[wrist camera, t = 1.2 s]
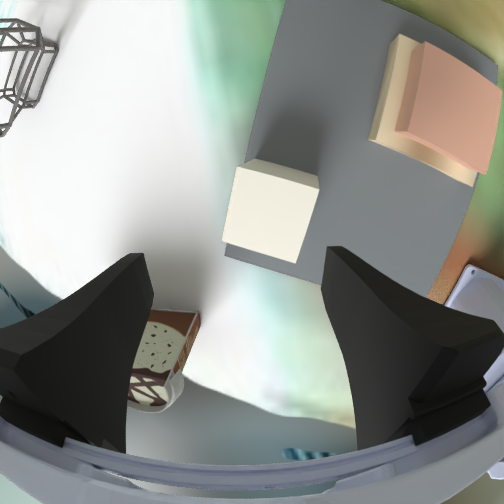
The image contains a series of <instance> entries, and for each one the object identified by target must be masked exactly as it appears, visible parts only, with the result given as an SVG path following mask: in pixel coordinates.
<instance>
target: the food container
mask: <svg viewBox="0 0 504 504" xmlns="http://www.w3.org/2000/svg"><path fill="white" fill-rule="evenodd" d="M199 328H200V314H199V311H186V310H172V309H159V308H151V311H150V315H149V318H148V321H147V324H146V327H145V330H144V333H143V336H142V339H141V342H140V345H139V348H138V351H137V354H136V357H135V360H134V364H133V368H132V374H131V380H130V386H129V393H128V402H127V407H129V408H132V409H134V410H137V411H141V412H146V413H158V412H161V411H163V410H165V408H168V407H169V406H171V405H172V403H174V401H175V400H176V399H177V398H178V397H179V396H180V394H181V393H182V391H183V387H184V379H183V375H182V371H183V368H184V366H185V363H186V361H187V358H188V356H189V353H190V351H191V348H192V346H193V343H194V341H195V338H196V336H197V333H198V331H199Z"/></svg>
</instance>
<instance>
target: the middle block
mask: <svg viewBox="0 0 504 504" xmlns="http://www.w3.org/2000/svg"><path fill="white" fill-rule="evenodd" d="M501 99H502V90H501V89H499V88H498V87H497V86H496V85H494V84H493V83H492V82H490V81H489V80H488V79H486V78H485V77H484V76H482V75H481V74H479V73H478V72H477V71H475V70H474V69H472V68H471V67H469V66H468V65H466V64H465V63H463V62H461V61H460V60H458V59H457V58H455V57H453V56H452V55H450V54H448V53H446V52H445V51H443V50H441V49H439V48H438V47H436V46H434V45H432V44H430V43H428V42H426V41H425V42H424V43H422V44H421V45H420V46H418V47H417V48H416V49H414V50H413V51H412V53H411V59H410V65H409V70H408V75H407V80H406V85H405V90H404V94H403V99H402V103H401V107H400V111H399V115H398V119H397V123H396V127H395V131H394V132H397V133H399V134H401V135H403V136H406V137H408V138H410V139H412V140H414V141H416V142H419V143H421V144H423V145H425V146H427V147H429V148H431V149H433V150H435V151H437V152H439V153H440V154H442V155H444V156H446V157H448V158H450V159H452V160H453V161H455V162H457V163H459V164H460V165H462V166H464V167H465V168H467V169H470V170H473V171H476V172H479V173H482V174H485V175H486V173H487V169H488V165H489V162H490V158H491V154H492V150H493V145H494V141H495V136H496V131H497V126H498V120H499V114H500V107H501Z"/></svg>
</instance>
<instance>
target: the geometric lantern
mask: <svg viewBox="0 0 504 504" xmlns="http://www.w3.org/2000/svg"><path fill="white" fill-rule="evenodd" d="M2 22H12V24H11V25H10V26H9V27H8V28H0V35H3V36H2V39H1V41H0V52H3V51H16V52H15V55H14V57H13V60H12V63H11V66H10V69H9V72H8V76H7V79H6V83H5V86H4V89H1V90H0V92H3V95H2V96H1V97H0V99H1V98H3V97H4V98H5V99H7V100H8V101H10V102H11V103H13V104H14V106H13V109H12V112H11V116H10V119H9V123H4V124H0V137H4V136H5V135H6V133H7V132H8V130H9V129H10V127H11V126H12V123H13V121H14V120H15V118H16V117H17V115H18V114H19V113H20V111H21V110H22V109H25V108H35V106H36V105H37V103H38V102H39V99H40V96H41V93H42V90H43V88H44V85H45V82H46V79H47V77H48V74H49V72H50V69H51V67H52V64H53V62H54V60H55V57H56V55H57V52H58V48H57V45H56V44H54V43H50V42H46V41H43V38H42V34H41V29H40V27H37V26H34V25H32V24H30V23H27V22H25V21H22V20H20V19H17V18H10V19H0V23H2ZM15 23H17V26H18V27H13V25H14V24H15ZM20 25H22V26H25V27H21V26H20ZM8 32H20V35H21V38H22V41H21V42H19V41H18V40H16V39H15V38H14V37H13V36H12V35H10V34H9V33H8ZM23 32H36V39H33V40H28V39H25V38H24V35H23ZM6 35H7V36H8V37H9V38H11V39H12V40H13V41H14V42H16V43H17V44H18V46H2V44H3V41H4V39H5V37H6ZM34 41H35V42H34ZM23 42H26V43H30V44H29V45H23V44H22V43H23ZM32 44H34V45H36V46H31V45H32ZM45 46H47V47H54V49H55V51H54V50H45ZM39 50H41V51H42V52H41V54H40V56H39V59H38V61H37V63H36V66H35V69H34V71H33V74H32V77H31V79H30V82H29V85H28V88H27V91H26V94H25V98H24V99H22V98H20V97H21V94H22V91H23V88H24V85H25V83H26V80H27V78H28V75H29V73H30V70H31V68H32V65H33V63H34V61H35V59H36V57H37V54H38V52H39ZM18 51H26V52H25V54H24V57H23V60H22V62H21V65H20V68H19V70H18V73H17V76H16V79H15V82H14V85H13V88H6V87H7V83H8V80H9V76H10V73H11V70H12V67H13V64H14V61H15V58H16V55H17V53H18ZM28 51H34V53H33V56H32V58H31V60H30V62H29V65H28V67H27V69H26V72H25V74H24V77H23V80H22V82H21V85H20V88H19V90H18V93H17V95H16V94H15V86H16V83H17V80H18V77H19V74H20V71H21V68H22V65H23V63H24V60H25V58H26V55H27V53H28ZM54 52H55V53H54ZM43 53H54V56H53V58H52V60H51V63H50V65H49V67H48V70H47V72H46V75H45V78H44V80H43V83H42V86H41V89H40V91H39V94H38V97H37V101H36V100H33V101H26V100H27V96H28V93H29V90H30V87H31V84H32V81H33V79H34V76H35V73H36V70H37V68H38V65H39V63H40V60H41V58H42V56H43ZM6 91H13V94H10V95H5V93H6ZM9 97H15V98H16V99H15V101H13V100H12V99H10V98H9ZM19 100H20V101H21V102H23V104H22V106H21V105H19V104H18V103H19ZM32 103H35V104H34V105H31V104H32ZM25 105H27V106H25ZM17 107H18V108H19V110H18V111H17V112H16V109H17ZM15 112H16V114H15ZM3 128H5V130H4V131H2V130H1V129H3Z"/></svg>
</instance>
